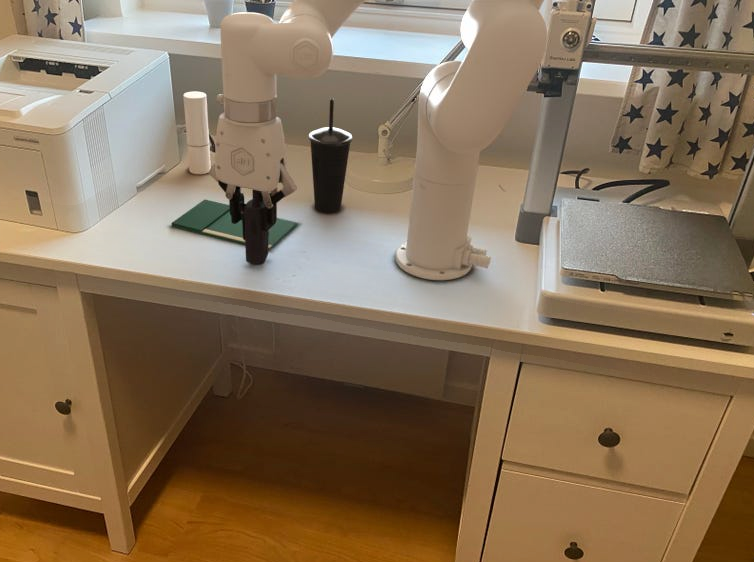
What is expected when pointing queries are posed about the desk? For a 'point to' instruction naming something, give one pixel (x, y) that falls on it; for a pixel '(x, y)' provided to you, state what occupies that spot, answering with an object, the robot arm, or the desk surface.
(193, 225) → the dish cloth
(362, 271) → the desk surface
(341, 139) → the drinking cup
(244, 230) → the two-way radio
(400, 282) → the desk surface
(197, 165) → the tube
